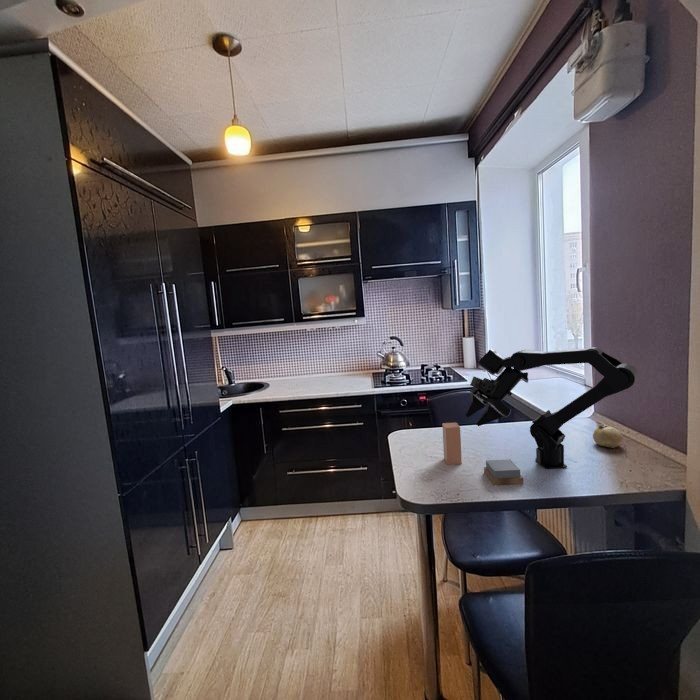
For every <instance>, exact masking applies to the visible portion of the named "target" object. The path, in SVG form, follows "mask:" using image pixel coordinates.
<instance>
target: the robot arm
mask: <svg viewBox="0 0 700 700" xmlns="http://www.w3.org/2000/svg"><path fill="white" fill-rule="evenodd" d="M574 364H589V365H590V366H592V367H593V369H595V370H596V371H597V372H598V373H599V374H600V375H601V376H603V378H601V379H600V381H599V382H597V384H595V385H594V386H593V387H591V388H590V389H588V390H587V391H585V392H584V393H582V394H581V395H579V396H578V397H577V398H575V399H573V400H572V401H570V402H569V403H568V404H566V405H565V406H564V407H562V408H560V409H559V410H558V411H555V412H551V411H550V409H547V410H546V411H545V412H544V413H542V414H541V415H539V416H537V417H536V418H534V419H533V420H532V421H531V423H532V424H531V425H530V427H529V432H530V433H529V434H530V435H531V436H532V438H533V439H534V440H535V443H536V445H537V447H536V448H535V451H536V452H535V455H536V458H535V459H534V460H535V461H536V462H537V463H538V464H539V465H540V466H541V467H543V469H545V470H546V469H561V468H562V469H564V468H568V465H567V464H566V463H565V445H564V444H562V443H563V442H564V440H565V437H566V435H565V433H563V432H562V431H561V430H560V428H561V427H563V425H565V424H566V423H567V422H569V421H571V420H572V419H574V418H576V417H577V416H578V415H580V414H581V413H583V412H585V411H586V410H588V409H589V408H590V407H592V406H593V405H595V404H597V403H598V402H600V401H601V400H603V399H604V398H606V397H609V396H612V395H616V394H617V393H620V392H622V391H625V390H627V389H629V388H631V387H633V385H634V384H635V383H636V382H637V380H638V378H639V372H638V369H637V368H636V367H634V366H633V365H632V364H629V363H624V362H622V361H620V360H619V359H617V358H615V357H613V356H612V355H610V354H608V353H606V352H604V351H603V350H602V349H600V347H595V346H593V347H589V348H576V349H563V350H552V351H541V350H535V349H522V350H519V351H516V352H514V353H512V354H511V356H508V357H504V356H502V355H501V354H499V353H498V352H497V351H496V350H495V349H493V348H491V349H488V351H487V352H486V353H485V354H484V355H483V356H482V357H481V358H480V359H479V360H478V364H477V365H478V366H480V367H481V368H482V369H483V370H485V371H486V372H488V374H490V375H492V376H494V375H497V377H496V378H495V379H489V378H486V377H484V378H479V377H477V376H472V378H471V379H472V380H471V382H470V384H469V386H470V387H471V389H470V390H469V392H470V393H469V395H470V399H471V400H470V403H469V405H468V407H467V410H466V412H465V415H464V416H465V417H466V418H469V417H471V416H473V415H474V414H475V413H478V412H479V411H481V410H482V409H485V410H484V411H483V413H482V414H481V415H480V417H479V418H478V420H477V422H476V423H475V424H476V426H477V427H480V426H483V425H486V424H488V423H490V422H493V421H497V420H500V419H503V418H508V417H509V416H510V415H511V413H512V408H511V407H510V406H509V405H508V404H506V403H505V402H504V401H503V400H505V398H506V397H507V396H509V397H511V395H513V393H512V392H511V391H512V390H514V389H515V387H516V386H517V385H518V384H519V382H520V381H523V382H524V383H526V384H527V383H528V384H529V377H528V376H529V372H523V371H527V370H530V369H535V368H539V367H542V366H553V365H554V366H556V365H574Z"/></svg>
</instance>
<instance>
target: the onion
mask: <svg viewBox="0 0 700 700" xmlns="http://www.w3.org/2000/svg"><path fill="white" fill-rule="evenodd" d="M592 439H593V440H594V441H593V442H595V444H597V445H599V446H601V447H606V448H611V449H615V448H618V447H619V446H620V445H621V444H622V443H623V440H624V437H623V434H622V432H620V431H619V430H617V429H616V428H615V427H612V426H609V425H607V424H605V423H604V424H599V425H598V426H597V427H596V429H594V432H593V434H592Z"/></svg>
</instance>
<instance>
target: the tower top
mask: <svg viewBox="0 0 700 700" xmlns="http://www.w3.org/2000/svg"><path fill="white" fill-rule="evenodd" d="M485 467H486V468H487V469H488V471H489V472H490V473H491V475H492V476H493V477H494V479H497V478H518V477H520V475H521V469H520V468H519V467H518V466H517V465H516V463H515V462H513V460H511V459H509V458H507V459H489V460H487V459H486V460H485Z"/></svg>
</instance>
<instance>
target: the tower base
mask: <svg viewBox="0 0 700 700" xmlns="http://www.w3.org/2000/svg"><path fill="white" fill-rule="evenodd" d="M483 472H484V474H485V475H486V477H487V478H488V480H489V481H490V483H491V482H492V483H491V485H493V486H494V485H497V486H509V485H510V486H511V485H524V477H523V476H522V475H521V474H520V477H518V478H497V479H494V477H493V476H492V475H491V473H490V472H489V471H488V469H487V468H486V466H484V467H483Z"/></svg>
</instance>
